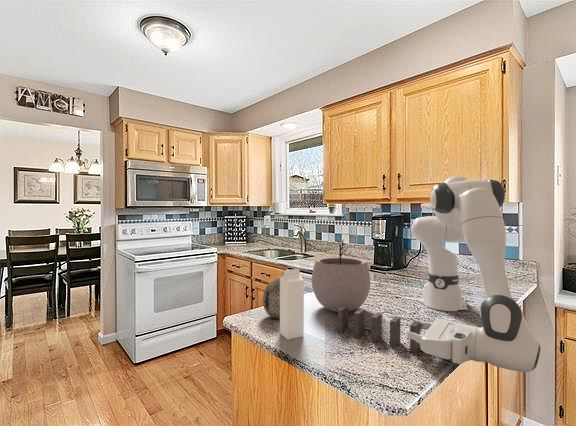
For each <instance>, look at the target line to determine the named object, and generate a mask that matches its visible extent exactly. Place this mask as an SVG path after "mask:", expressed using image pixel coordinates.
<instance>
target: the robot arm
mask: <svg viewBox="0 0 576 426" xmlns="http://www.w3.org/2000/svg"><path fill="white" fill-rule="evenodd" d="M505 191H506V190H505V188H504V185H503V184H502V183H501V182H500V181H499V180H495V179H468V178H466V177H464V176H461V175H460V176H459V175H453V176H450V177H449V178H446V180H444V182H442V183H438V184H435V185H434V186H433V187H432V189H431V192H430V196H429V200H430V201H429V202H430V205H431V207H432V209H433V210H434V214H435V215H427V216H421V217H420V216H419V217H416V218H415V219H414V220H413V222H412V224H411V234H412V235H413V237H414V239H416V240H417V241H419V243H420V244H422V246H423V247H424V248H425V251H426V252H427V253H426V254H427V257H428V272H427V282H426V283H425V284H423V285H424V286H423V294H422V295H423V297H422V298H421V299H419V303H420V304H423V305H424V306H426V307H428V308H429V309H433V310H437V311H442V312H443V311H444V312H459V311H458V310H467V311H468V307H467V306H468V305H467V303H466V302H467V301H466V299H464V297H462V296H463V293H462V292H463V290H462V288H461V287H460V283H459V282H460V281H459V280H460V278H459V275H458V261H459V260H458V257H457V255H456V254H455V253H454V252H453V251H450V250H449V249H446V248H445V247H444V246H443V243H463V242H464V243H466V246H467V248H468V250H469V252H470V253H471V255H472V256H473V258H474V259H475V262H476V264H477V266H478V268H479V270H480V275H481V278H482V283H483V287H484V288H483V289H484V294H485V299H484V300H483V301H482V302H481V304H480V307H479V315H480V319H481V325H482V326H481V327H478V326H473V325H471V324H465V323H461V322H460V323H459V322H455V321H453V320H449V319H445V318H436V319H435V320H434V321H433V322H432V321H425V322H424V321H420V330H423V329H424V330H426V331H425V333H424V334H421V333H420V335H419V334H416V333H415V332H413V331H410V330H408V332H407V333H406V335H407V336H406V337H407V338H408V339H409V340H410V339H413V340H415V341H416V342H418V343H420V350H421V351H422V352H423V353H425V354H428V355H430V356H433V357H437V358H440V359H443V360H451V361H452V363H453V364H457V365H462V364H463V363H466V362H470V361H472V362H473V361H474V362H476V363H477V362H478V363H480V362H482V363H487V364H490V365H492V366H494V367H497V368H502V369H505V370H510V371H514V372H518V373H520V372H521V373H522V372H523V373H530V372H532V371H534V370H535V369H536V368H537V365H538V363H539V359H540V356H541V344H540V342H539V341H538V340H537V339H536V337H535V336H534V334H533V333H532V331H531V329H530V327H529V325H528V323H527V321H526V318H525V316H524V315H525V314H524V312H523V310H522V308H521V306H520V305H519V304H518V303H517V302H516V301H515V300H514V299H513V297H512V294H511V291H510V290H511V289H510V286H509V282H508V277H507V272H506V265H505V263H506V261H505V259H506V256H505V255H506V246H507V233H506V232H507V231H506V224H505V221H504V217H503V213H502V209H501V207H502V206H503V205H504V202H505V199H506V194H505V193H506V192H505Z"/></svg>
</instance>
